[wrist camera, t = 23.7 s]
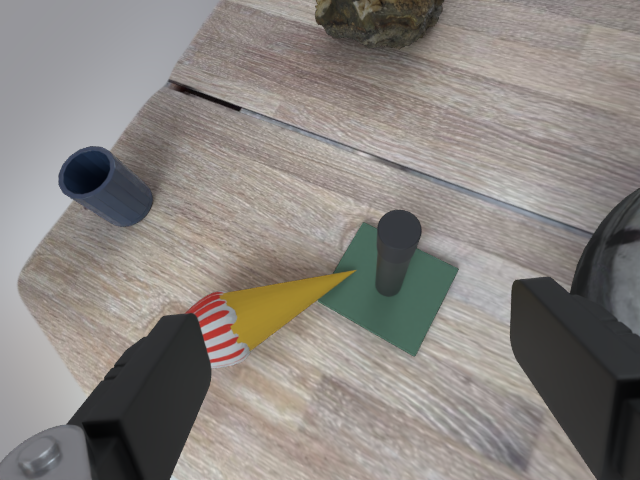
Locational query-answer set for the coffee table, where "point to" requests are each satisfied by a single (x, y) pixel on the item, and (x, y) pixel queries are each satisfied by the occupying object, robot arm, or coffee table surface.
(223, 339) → the ice cream cone
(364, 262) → the felt pad
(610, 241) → the ceramic pot
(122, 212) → the pen cup
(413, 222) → the cylinder
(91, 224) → the coffee table surface
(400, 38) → the mineral specimen
